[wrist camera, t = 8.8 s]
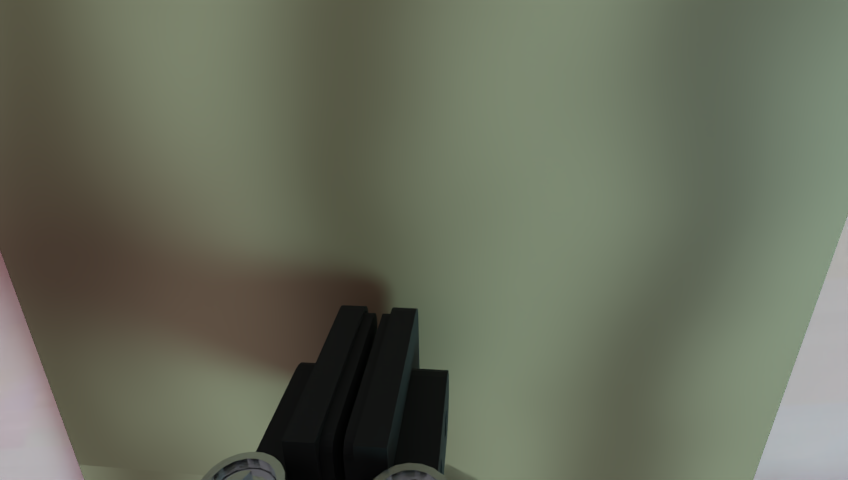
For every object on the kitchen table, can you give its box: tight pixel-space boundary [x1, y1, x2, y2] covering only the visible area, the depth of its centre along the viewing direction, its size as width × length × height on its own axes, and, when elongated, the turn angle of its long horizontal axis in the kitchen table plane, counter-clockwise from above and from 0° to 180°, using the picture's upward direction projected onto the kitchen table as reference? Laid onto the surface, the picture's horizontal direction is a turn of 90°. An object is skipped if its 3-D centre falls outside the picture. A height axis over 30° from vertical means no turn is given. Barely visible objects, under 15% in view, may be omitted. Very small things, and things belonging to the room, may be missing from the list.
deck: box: [0, 0, 848, 480], centre depth 15 cm, size 18×24×2 cm
